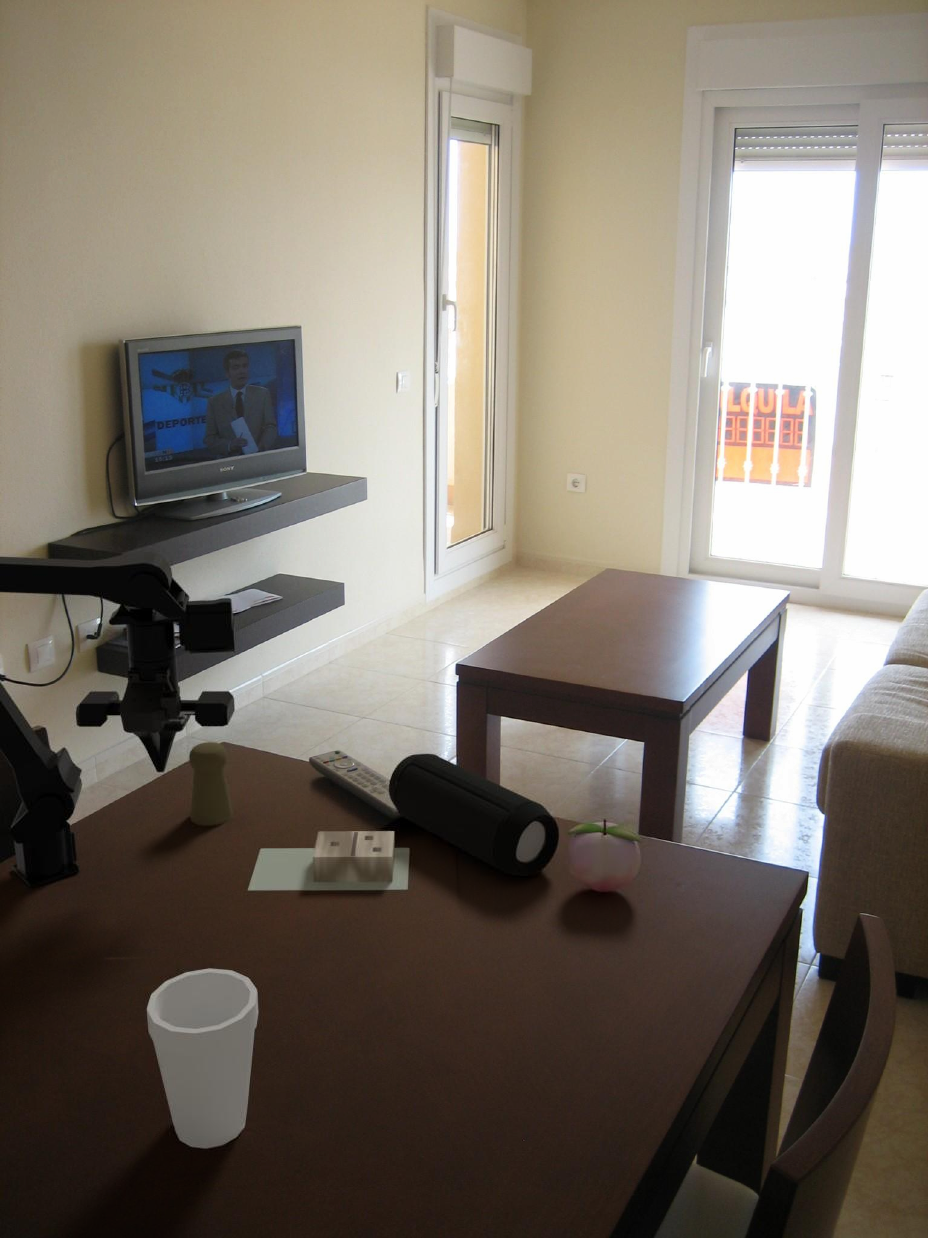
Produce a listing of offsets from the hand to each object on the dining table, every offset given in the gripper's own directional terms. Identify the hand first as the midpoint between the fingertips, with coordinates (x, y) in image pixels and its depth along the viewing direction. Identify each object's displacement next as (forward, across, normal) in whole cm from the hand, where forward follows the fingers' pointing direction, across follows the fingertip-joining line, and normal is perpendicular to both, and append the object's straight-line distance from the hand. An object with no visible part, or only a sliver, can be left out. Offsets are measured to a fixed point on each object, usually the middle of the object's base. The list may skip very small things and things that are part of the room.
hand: (161, 771), depth 147 cm
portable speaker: (+13, +40, +5) cm, 42 cm away
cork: (+13, +3, +13) cm, 19 cm away
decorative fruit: (+13, +56, -8) cm, 58 cm away
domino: (+11, +20, -2) cm, 23 cm away
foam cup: (+13, +15, -49) cm, 53 cm away
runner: (+13, +22, -2) cm, 25 cm away
